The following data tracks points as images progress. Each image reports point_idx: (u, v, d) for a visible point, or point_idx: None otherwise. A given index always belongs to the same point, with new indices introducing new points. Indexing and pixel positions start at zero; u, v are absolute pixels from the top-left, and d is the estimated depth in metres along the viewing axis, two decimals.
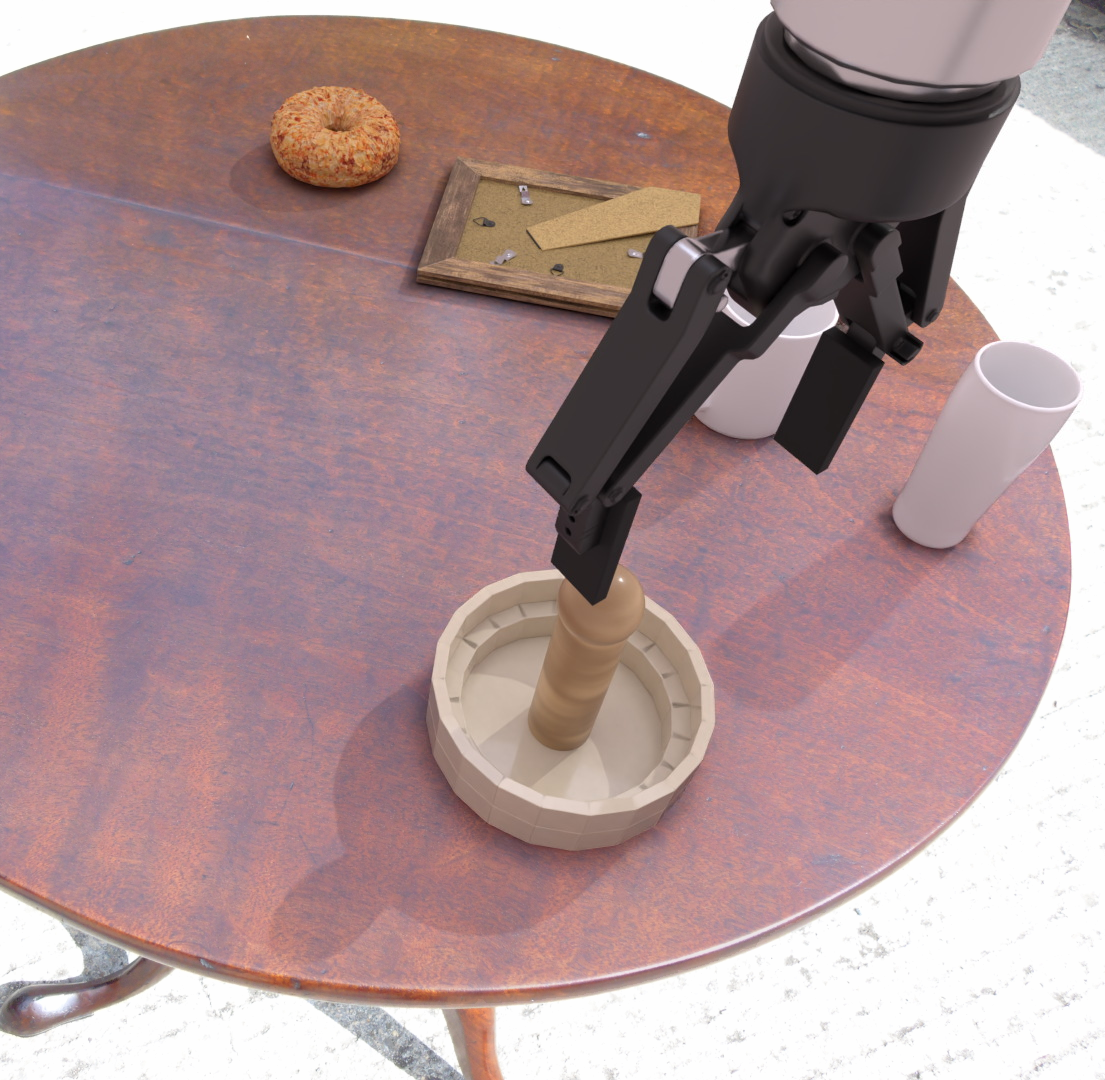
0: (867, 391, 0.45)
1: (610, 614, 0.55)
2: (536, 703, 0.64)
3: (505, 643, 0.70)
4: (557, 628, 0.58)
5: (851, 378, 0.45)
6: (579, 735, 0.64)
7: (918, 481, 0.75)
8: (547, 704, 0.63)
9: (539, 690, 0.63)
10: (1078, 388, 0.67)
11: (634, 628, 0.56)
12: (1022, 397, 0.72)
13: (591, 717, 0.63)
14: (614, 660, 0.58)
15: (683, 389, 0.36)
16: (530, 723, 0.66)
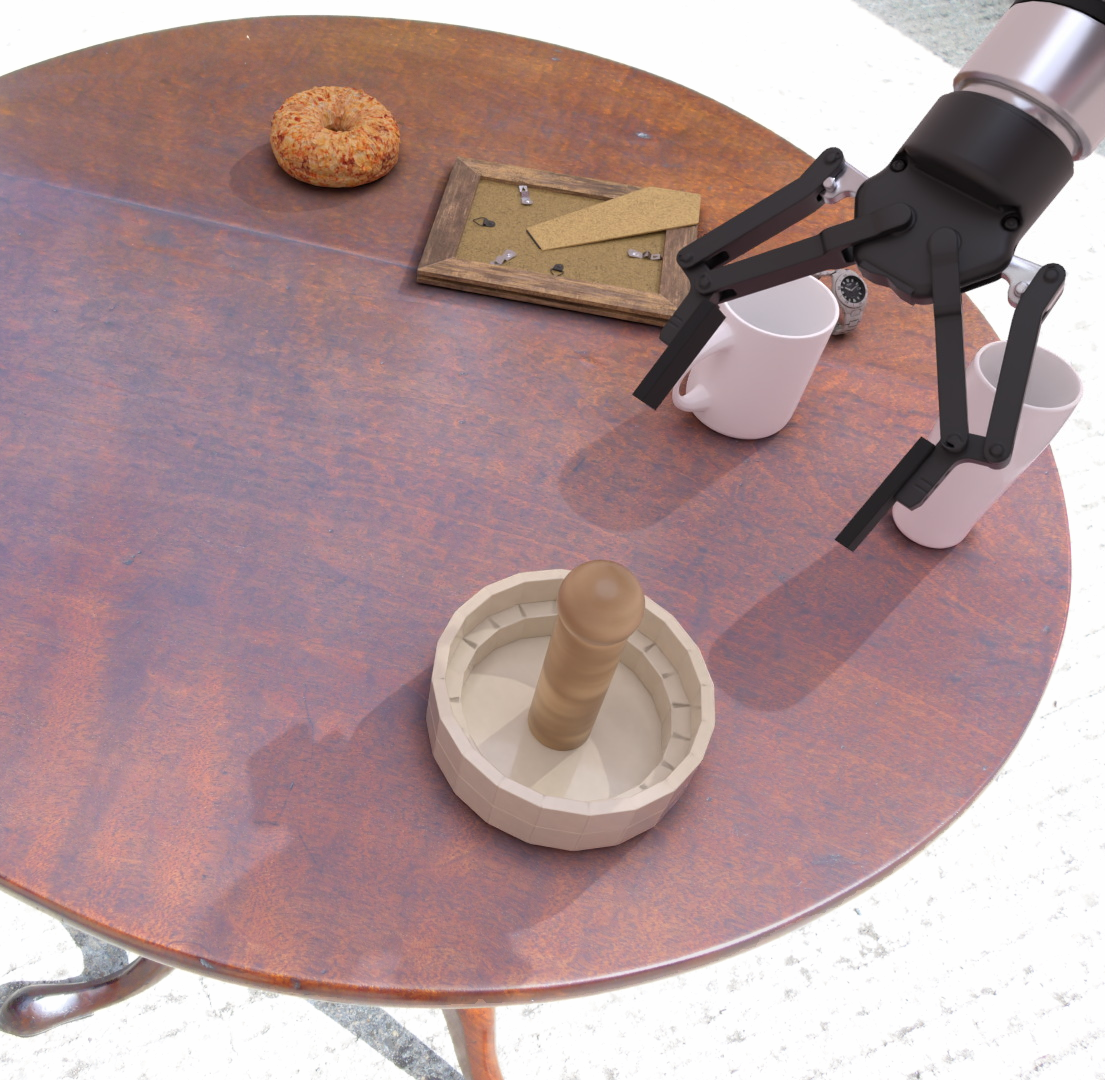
0: (910, 467, 0.53)
1: (610, 614, 0.55)
2: (536, 703, 0.64)
3: (505, 643, 0.70)
4: (557, 628, 0.58)
5: None
6: (579, 735, 0.64)
7: None
8: (547, 704, 0.63)
9: (539, 690, 0.63)
10: (1078, 388, 0.67)
11: (634, 628, 0.56)
12: None
13: (591, 717, 0.63)
14: (614, 660, 0.58)
15: None
16: (530, 723, 0.66)
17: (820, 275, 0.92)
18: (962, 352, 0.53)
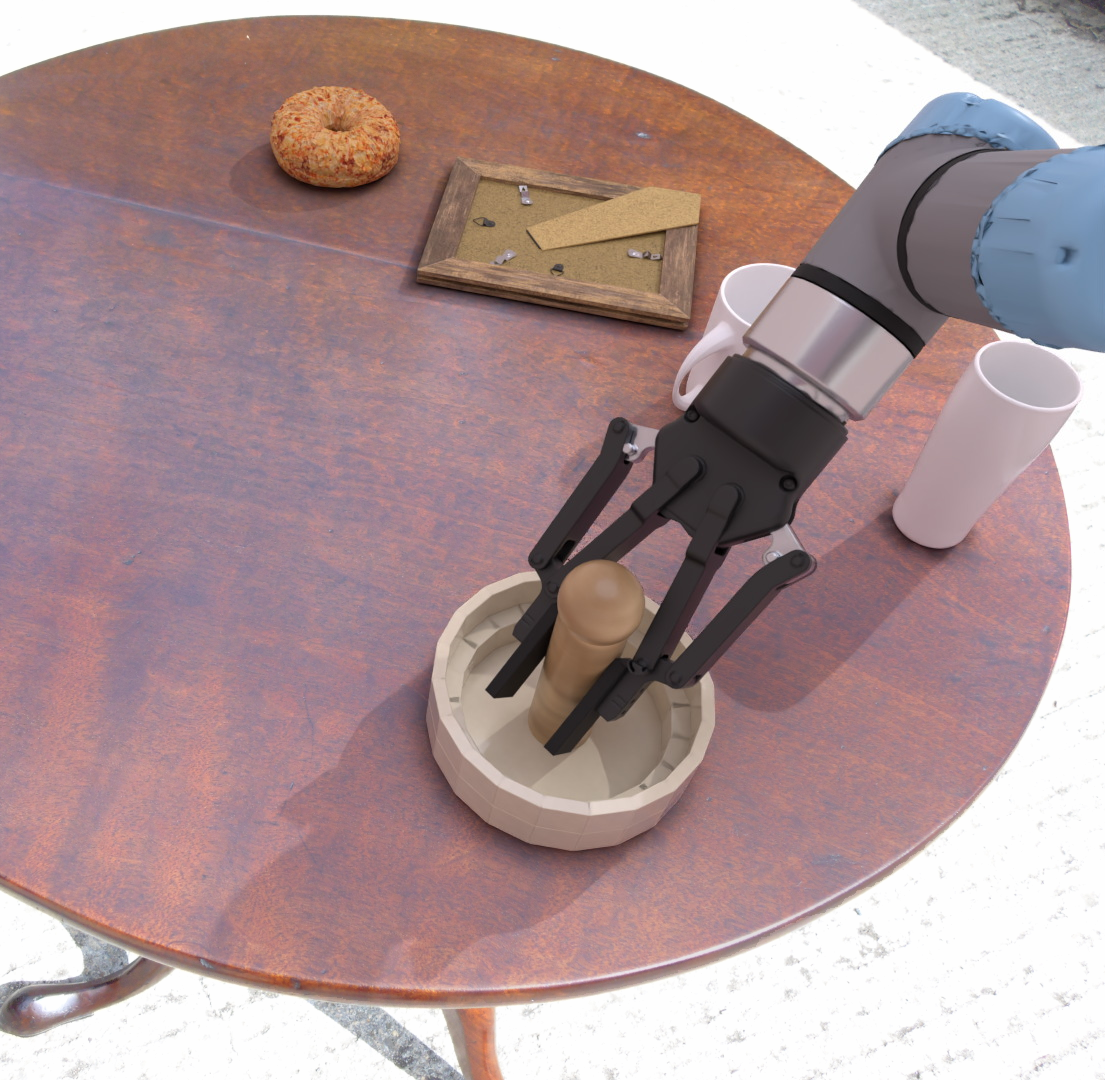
0: (605, 686, 0.58)
1: (610, 614, 0.55)
2: (536, 703, 0.64)
3: (505, 643, 0.70)
4: (557, 628, 0.58)
5: None
6: None
7: (918, 481, 0.75)
8: (547, 704, 0.63)
9: (539, 690, 0.63)
10: (1078, 388, 0.67)
11: (634, 628, 0.56)
12: (1022, 397, 0.72)
13: None
14: None
15: None
16: (530, 723, 0.66)
17: None
18: (688, 597, 0.57)
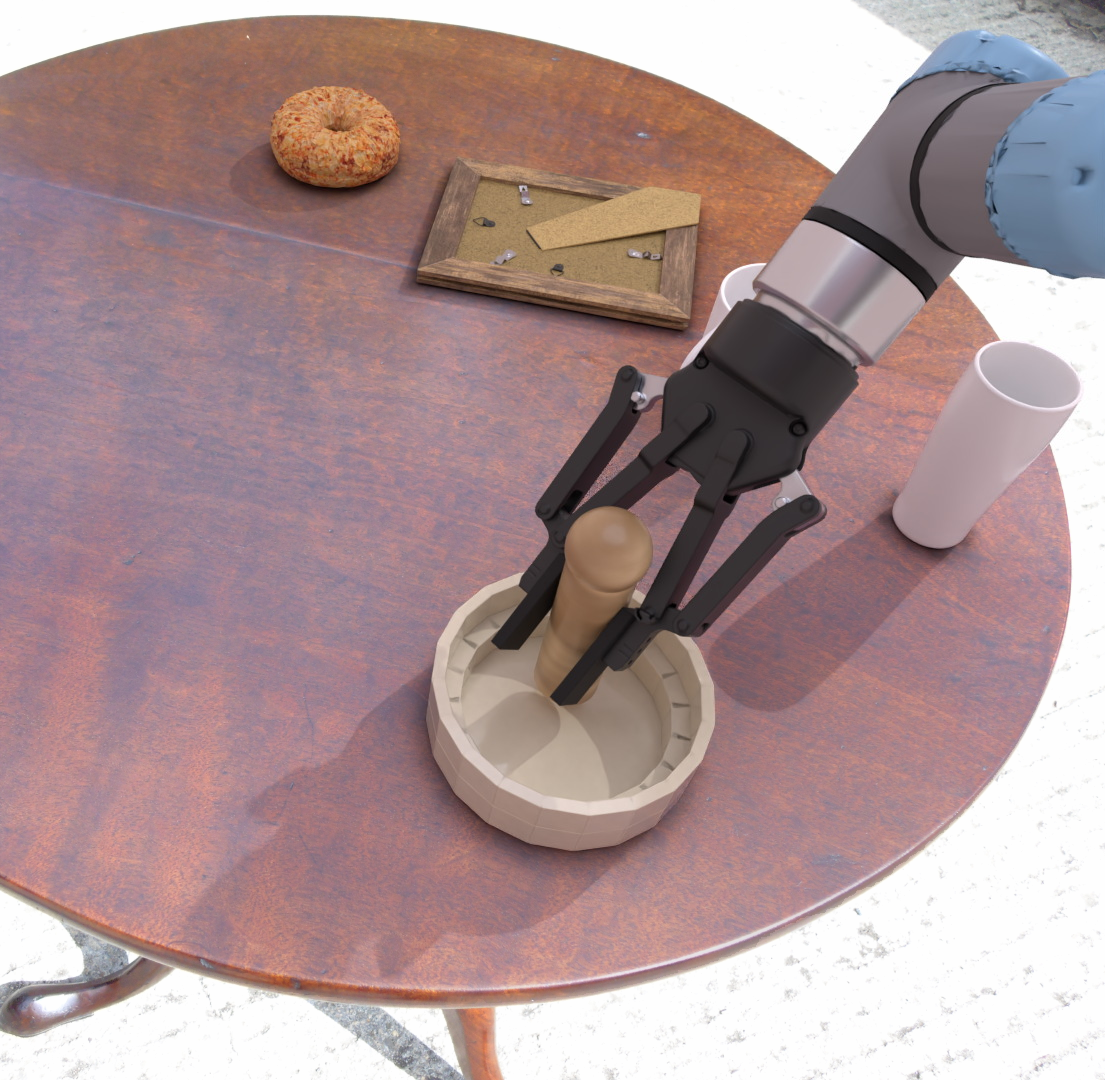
0: (612, 635, 0.58)
1: (618, 559, 0.54)
2: (542, 656, 0.64)
3: None
4: (564, 576, 0.58)
5: None
6: None
7: (918, 481, 0.75)
8: (554, 657, 0.62)
9: (546, 643, 0.63)
10: (1078, 388, 0.67)
11: (642, 574, 0.55)
12: (1022, 397, 0.72)
13: None
14: None
15: None
16: (536, 678, 0.66)
17: None
18: (696, 544, 0.56)
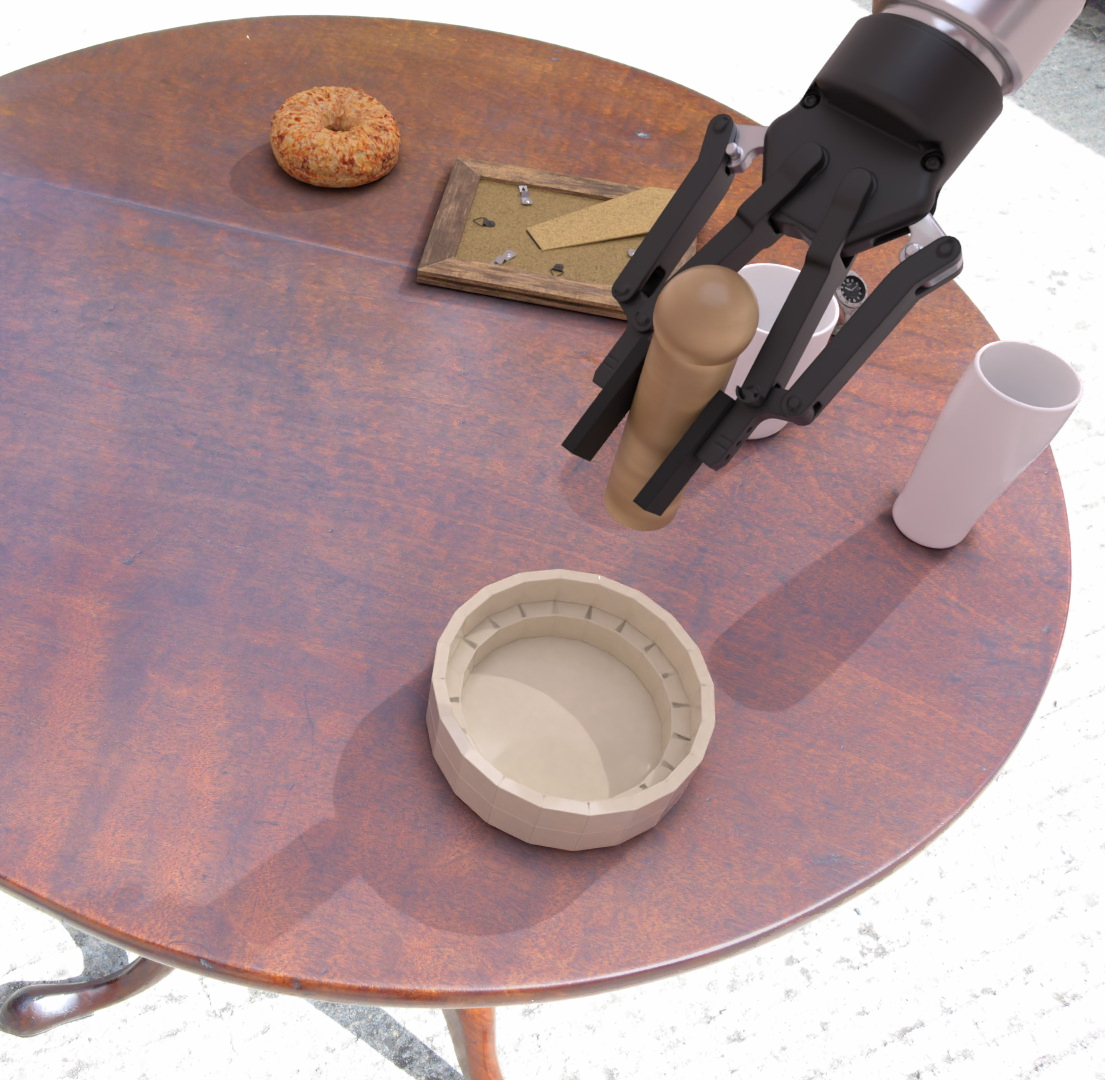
0: (708, 423, 0.50)
1: (722, 317, 0.46)
2: (616, 471, 0.56)
3: (505, 643, 0.70)
4: (651, 356, 0.50)
5: None
6: None
7: (918, 481, 0.75)
8: (632, 466, 0.54)
9: (622, 452, 0.55)
10: (1078, 388, 0.67)
11: (747, 340, 0.47)
12: (1022, 397, 0.72)
13: None
14: None
15: None
16: (607, 501, 0.58)
17: None
18: (809, 309, 0.48)
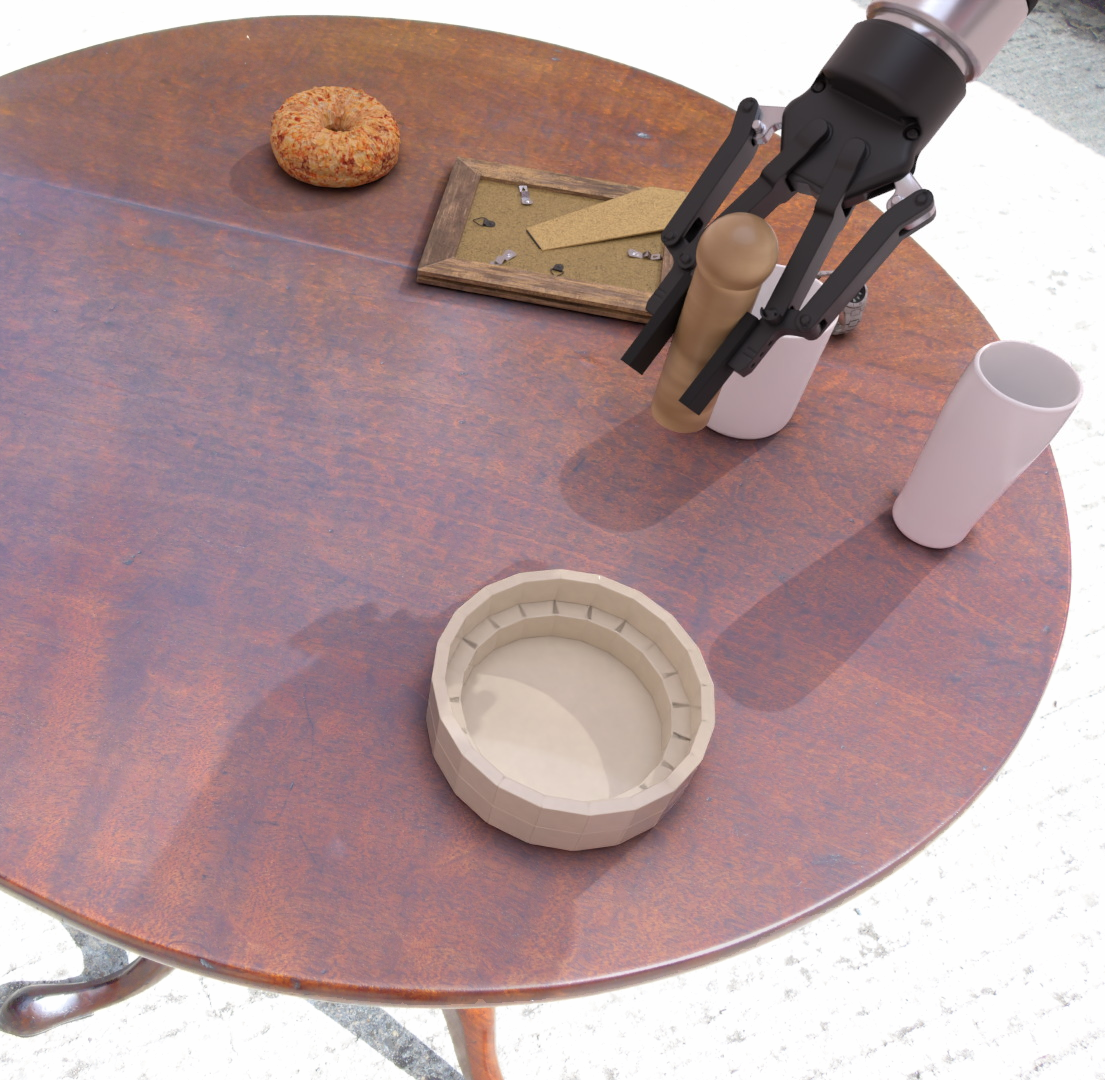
0: (738, 337, 0.64)
1: (750, 251, 0.60)
2: (662, 383, 0.70)
3: (505, 643, 0.70)
4: (694, 285, 0.64)
5: None
6: (702, 413, 0.70)
7: (918, 481, 0.75)
8: (676, 377, 0.68)
9: (667, 366, 0.69)
10: (1078, 388, 0.67)
11: (770, 270, 0.61)
12: (1022, 397, 0.72)
13: None
14: None
15: None
16: (654, 410, 0.72)
17: (820, 275, 0.92)
18: (817, 247, 0.62)
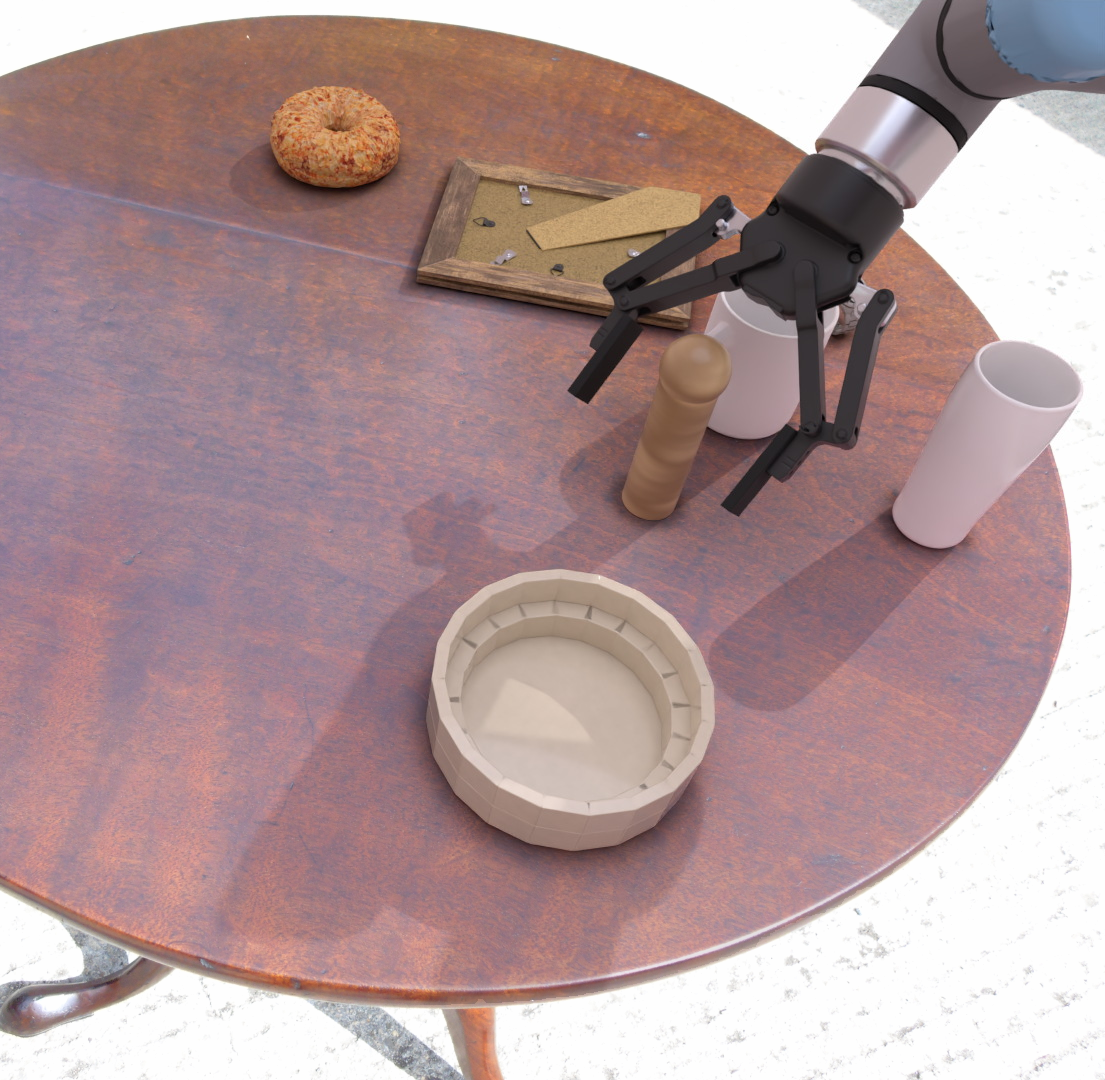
0: (777, 448, 0.68)
1: (706, 371, 0.67)
2: (632, 476, 0.77)
3: (505, 643, 0.70)
4: (657, 395, 0.71)
5: None
6: (668, 503, 0.77)
7: (918, 481, 0.75)
8: (643, 473, 0.75)
9: (636, 462, 0.76)
10: (1078, 388, 0.67)
11: (724, 386, 0.68)
12: (1022, 397, 0.72)
13: (679, 484, 0.76)
14: (704, 422, 0.71)
15: None
16: (625, 498, 0.79)
17: None
18: (817, 357, 0.67)
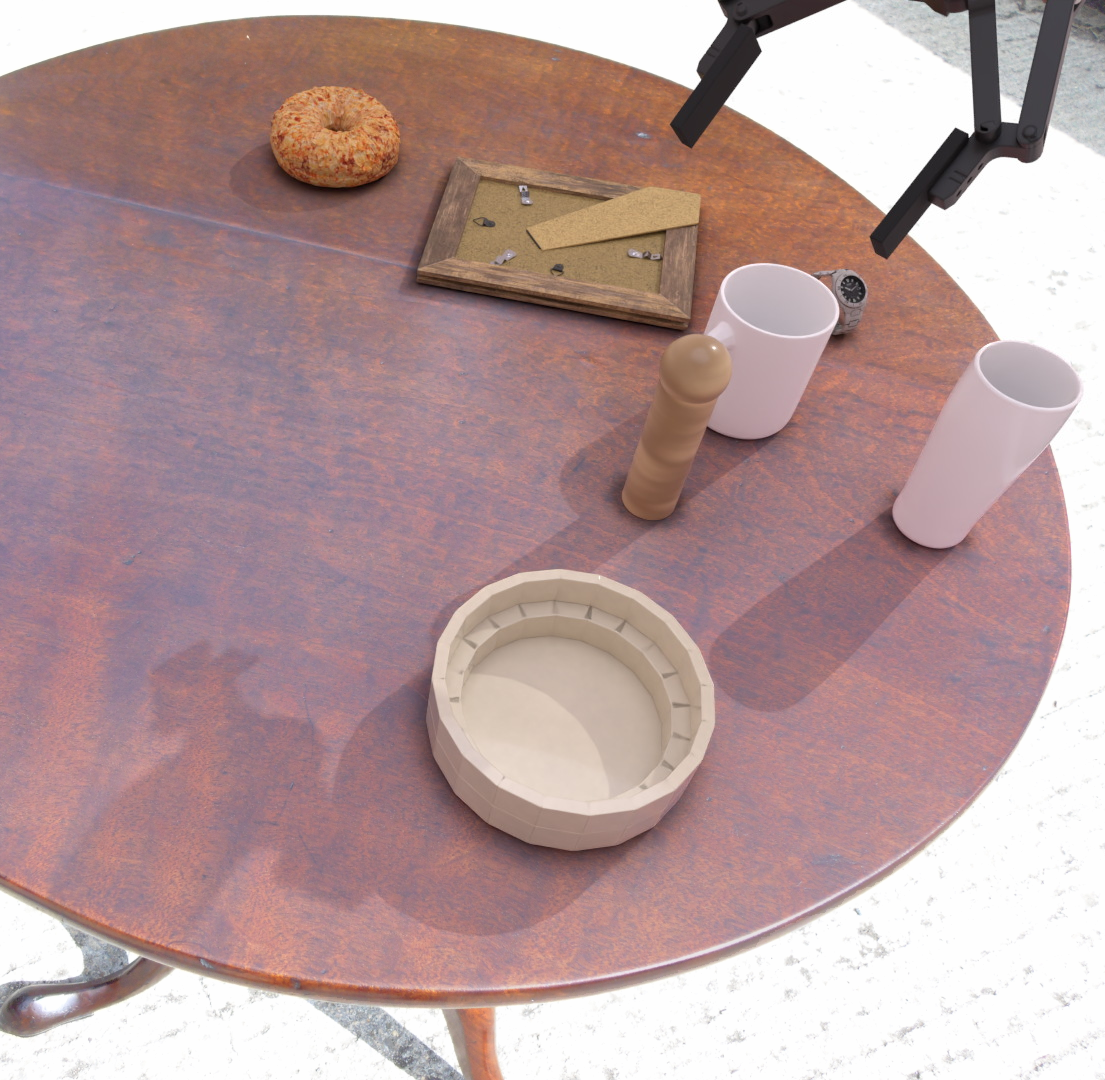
0: (944, 159, 0.55)
1: (706, 371, 0.67)
2: (632, 476, 0.77)
3: (505, 643, 0.70)
4: (657, 395, 0.71)
5: None
6: (668, 503, 0.77)
7: (918, 481, 0.75)
8: (643, 473, 0.75)
9: (636, 462, 0.76)
10: (1078, 388, 0.67)
11: (724, 386, 0.68)
12: (1022, 397, 0.72)
13: (679, 484, 0.76)
14: (704, 422, 0.71)
15: None
16: (625, 498, 0.79)
17: (820, 275, 0.92)
18: (996, 43, 0.54)
